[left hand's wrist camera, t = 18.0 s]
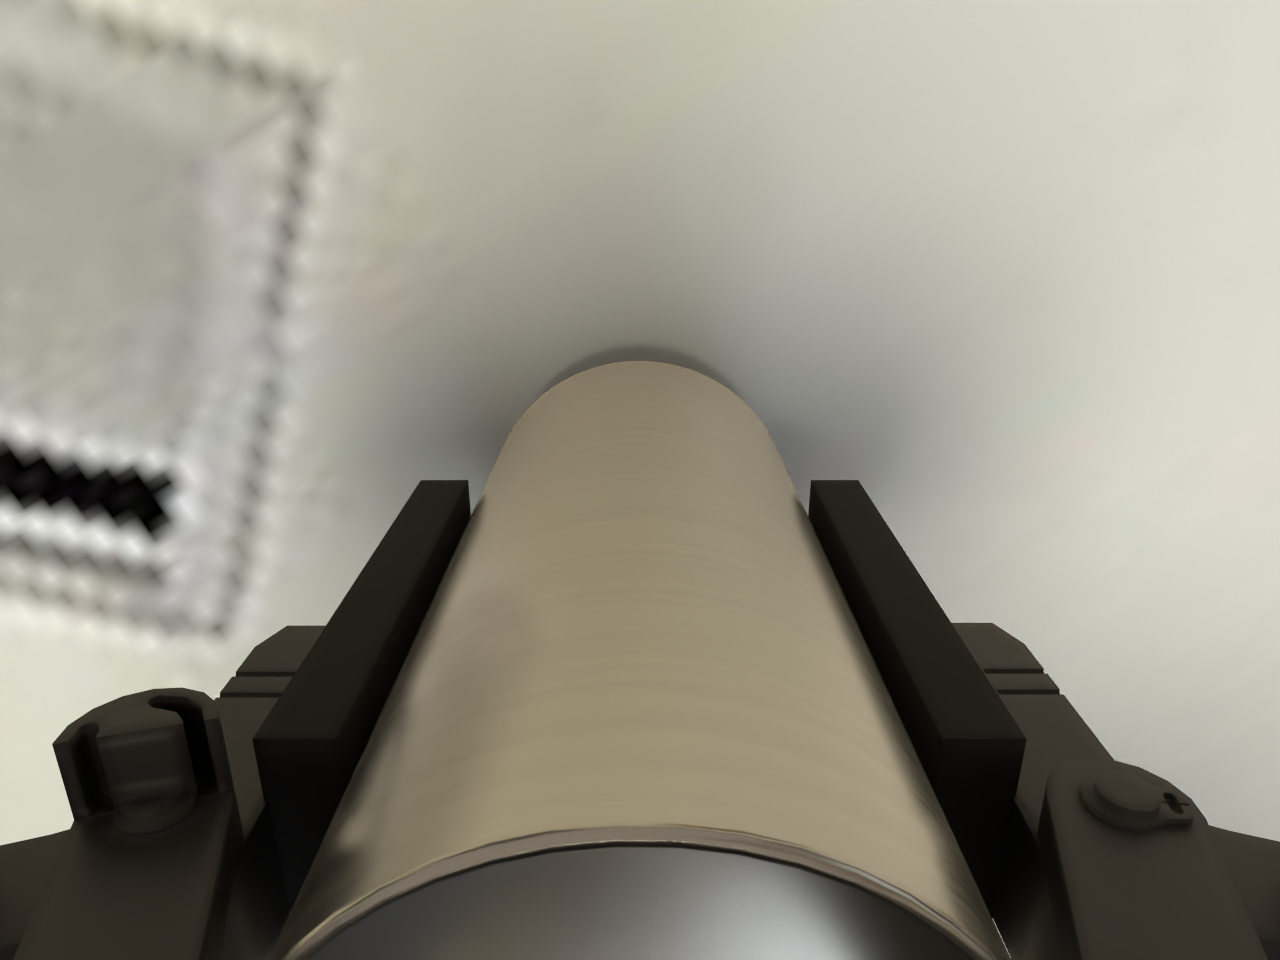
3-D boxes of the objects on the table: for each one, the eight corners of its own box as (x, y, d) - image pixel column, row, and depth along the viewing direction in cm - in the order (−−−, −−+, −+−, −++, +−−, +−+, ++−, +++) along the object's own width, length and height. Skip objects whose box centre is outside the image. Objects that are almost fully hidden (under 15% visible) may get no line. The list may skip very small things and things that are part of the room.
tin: (816, 586, 17) (1113, 1320, 6) (552, 660, 18) (419, 1446, 7) (740, 318, 15) (980, 725, 5) (448, 412, 16) (50, 967, 5)
